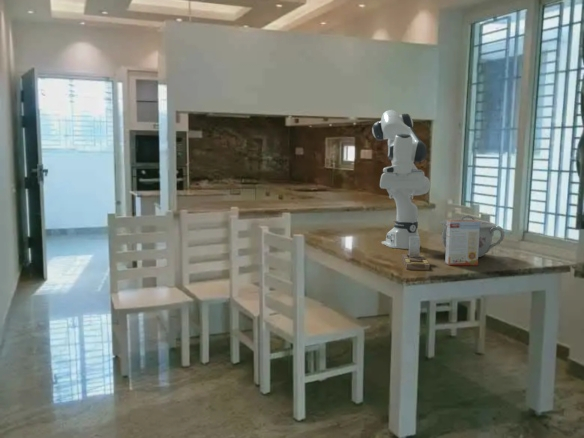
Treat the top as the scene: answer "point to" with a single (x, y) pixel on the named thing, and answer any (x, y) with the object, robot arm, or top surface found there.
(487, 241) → the chamber pot
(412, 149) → the robot arm
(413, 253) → the peg
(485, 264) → the top surface
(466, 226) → the cracker box
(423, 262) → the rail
